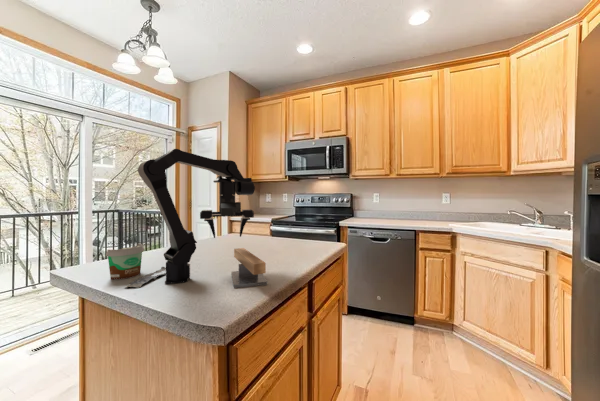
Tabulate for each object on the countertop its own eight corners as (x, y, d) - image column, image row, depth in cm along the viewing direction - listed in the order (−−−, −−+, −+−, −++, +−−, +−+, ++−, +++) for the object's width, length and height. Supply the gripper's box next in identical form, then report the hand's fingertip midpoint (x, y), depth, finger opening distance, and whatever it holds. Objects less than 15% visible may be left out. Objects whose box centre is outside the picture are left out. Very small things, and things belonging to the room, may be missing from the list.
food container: (120, 282, 82) (120, 251, 82) (106, 280, 84) (105, 249, 84) (152, 271, 94) (152, 244, 94) (139, 270, 96) (139, 243, 96)
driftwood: (137, 291, 76) (137, 284, 76) (116, 290, 77) (116, 282, 77) (178, 271, 97) (178, 266, 97) (162, 270, 98) (162, 265, 98)
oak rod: (253, 274, 74) (253, 264, 73) (234, 257, 95) (234, 248, 95) (265, 273, 75) (265, 262, 75) (243, 256, 96) (243, 247, 96)
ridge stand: (233, 288, 77) (233, 271, 77) (231, 274, 90) (231, 260, 90) (267, 284, 80) (267, 268, 80) (260, 272, 93) (260, 258, 93)
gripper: (198, 195, 86) (199, 242, 86) (255, 195, 91) (255, 239, 92) (201, 195, 96) (201, 237, 97) (251, 195, 102) (252, 234, 102)
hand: (227, 237), depth 96 cm, fingers open, 9 cm apart
